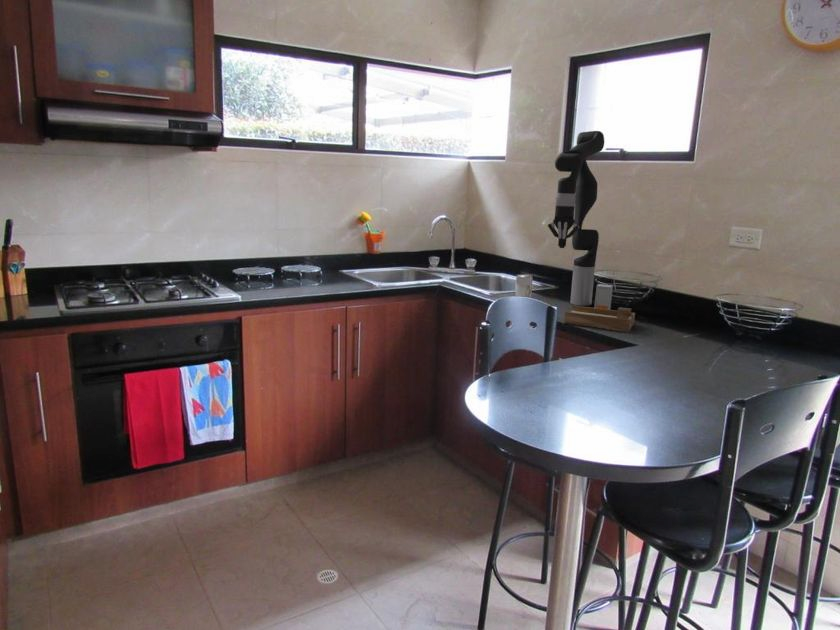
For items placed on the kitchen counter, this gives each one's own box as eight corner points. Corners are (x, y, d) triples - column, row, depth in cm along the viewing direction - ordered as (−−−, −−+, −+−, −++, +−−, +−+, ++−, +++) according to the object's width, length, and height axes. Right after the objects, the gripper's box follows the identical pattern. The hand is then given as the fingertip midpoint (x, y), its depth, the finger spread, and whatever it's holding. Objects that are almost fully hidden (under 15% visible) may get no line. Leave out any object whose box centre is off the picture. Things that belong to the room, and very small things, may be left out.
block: (618, 317, 240) (619, 307, 239) (630, 318, 238) (631, 308, 237) (616, 319, 236) (617, 309, 235) (628, 320, 234) (629, 310, 233)
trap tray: (572, 316, 250) (573, 305, 249) (633, 324, 240) (635, 312, 239) (563, 323, 237) (564, 312, 236) (628, 331, 227) (629, 320, 226)
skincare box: (593, 313, 257) (596, 285, 254) (595, 311, 260) (598, 283, 258) (608, 315, 254) (611, 286, 251) (610, 313, 258) (613, 285, 255)
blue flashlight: (512, 312, 254) (515, 276, 251) (514, 308, 261) (516, 273, 257) (529, 313, 253) (532, 277, 249) (531, 310, 259) (533, 275, 256)
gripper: (583, 205, 247) (580, 248, 251) (551, 203, 253) (548, 245, 256) (579, 206, 240) (576, 250, 244) (546, 204, 246) (543, 247, 250)
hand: (561, 247), depth 250 cm, fingers closed
